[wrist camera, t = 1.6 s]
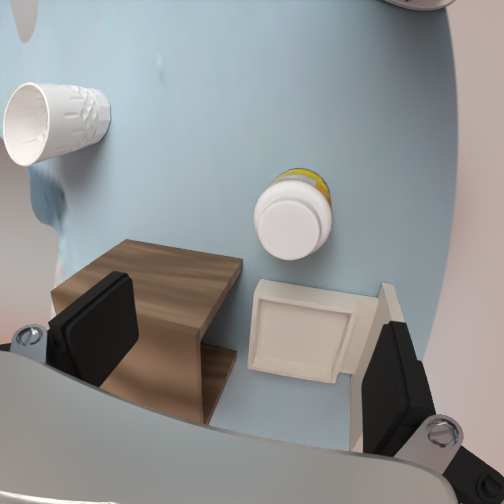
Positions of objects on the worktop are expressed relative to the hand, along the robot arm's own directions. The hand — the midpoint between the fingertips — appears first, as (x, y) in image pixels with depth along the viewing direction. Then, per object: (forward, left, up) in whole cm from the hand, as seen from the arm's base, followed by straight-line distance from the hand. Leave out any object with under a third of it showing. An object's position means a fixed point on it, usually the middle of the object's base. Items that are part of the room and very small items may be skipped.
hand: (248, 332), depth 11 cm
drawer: (+14, +4, -20) cm, 25 cm away
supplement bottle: (0, 0, -20) cm, 20 cm away
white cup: (-7, -24, -21) cm, 32 cm away
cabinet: (+14, -12, -20) cm, 27 cm away
